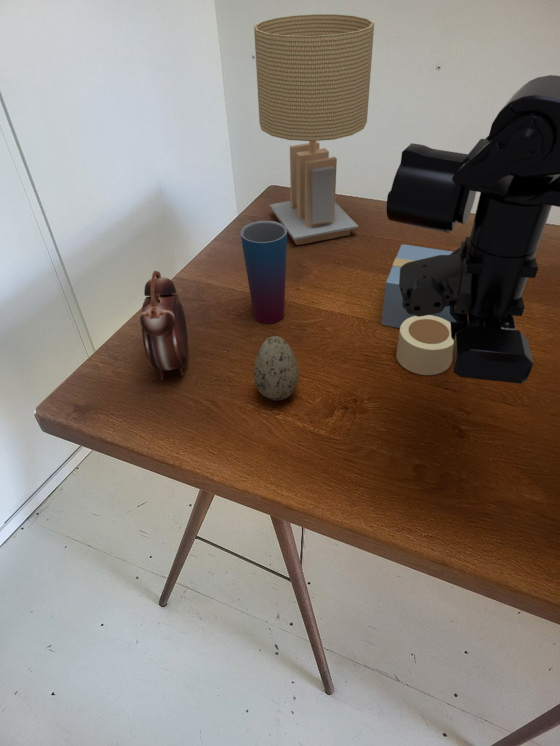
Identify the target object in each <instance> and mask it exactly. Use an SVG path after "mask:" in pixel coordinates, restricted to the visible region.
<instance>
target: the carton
mask: <svg viewBox="0 0 560 746" xmlns="http://www.w3.org/2000/svg"><path fill="white" fill-rule="evenodd" d="M452 252H453V251H451V250H444V249H439V248H437V249H436V248H431V247H425V246H416V245H409V244H404V243H403V244H400V247H399V250H398V252H397V254H396V257H395V258H394V260H393V263H392V266H391V269H390V272H389V273H388V276H387V279H386V281H385V288H384V296H383V302H382V303H383V304H382V312H381V319H380V325H381V326H387V327H390V328H391V327H392V328H396V329H400V326H401V324H402V323H403V322H404V321H405V320H406V319H408V318H410V317H413V316H415V315H412V314H408V313H407V312H406V309H404V308H403V306H402V302H403V298H402V294H401V291H400V287H399V278H400V268H401V267H402V266H403V265H404V264H406V263H408V262H412V261H417V260H421V259H425V258H430V257H434V256H438V255H450V254H451V253H452ZM431 315H432V316H437V317H440V318H443V319H445V320H447V321H448V322H456V321H455V319H454V318H453V317H452V316H451V315H450V306H448V307H444V309H443V311H442V312H440V313H437V314H431Z"/></svg>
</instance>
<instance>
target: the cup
mask: <svg viewBox="0 0 560 746" xmlns="http://www.w3.org/2000/svg"><path fill="white" fill-rule="evenodd" d="M240 238H241V239H240V240H241V244H242V252H243V258H244V263H245V270H246V277H247V282H248V283H247V284H248V288H249V289H248V290H249V294H250V301H251V307H252V314H253V317H254V320H255V321H257V322H259V323H261V324H266V325H270V324H275V323H278V322H280V321H282V320H283V319H284V317H285V298H286V274H287V273H286V271H287V246H288V232H287V228H286V227H285V226H284V225H283V224H281V222H278V221H274V220H258V221H253V222H250V223H248V224H246V225H244V226H243V227H242V228H241V229H240Z"/></svg>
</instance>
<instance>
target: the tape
mask: <svg viewBox="0 0 560 746" xmlns="http://www.w3.org/2000/svg"><path fill="white" fill-rule="evenodd" d="M398 333H399V334H398V338H397V346H396V352H395V356H396V360H397V362H398V363H399V364H400V365H401V367H402V368H404V369H405V370H407V371H408V372H411V373H414V374H417V375H421V376H434V375H435V376H437V375H440V374H442V373H444V372H445V371H447V370H448V369H449V368H451V365H452V363H453V357H452V352H453V343H454V340H453V339H452V337H451V324H450V322H448V321H447V320H445V319H443V318H440V317H437V316H432V315H426V316H421V317H417V316H413V317H410V318H408V319H406V320H405V321H404V322H403V323H402V324H401V326H400V328H399V332H398Z"/></svg>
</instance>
